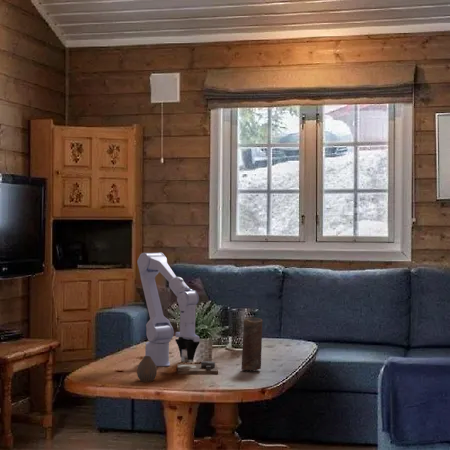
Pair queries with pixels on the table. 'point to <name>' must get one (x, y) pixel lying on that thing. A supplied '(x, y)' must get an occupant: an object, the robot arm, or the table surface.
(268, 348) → the table surface
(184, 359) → the knob
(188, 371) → the base board
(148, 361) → the vase
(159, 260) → the robot arm
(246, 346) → the candle
